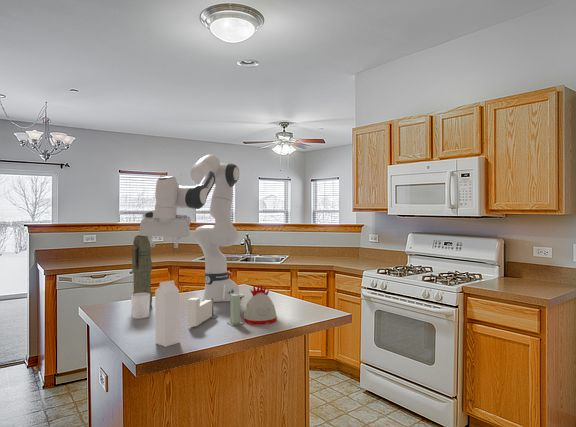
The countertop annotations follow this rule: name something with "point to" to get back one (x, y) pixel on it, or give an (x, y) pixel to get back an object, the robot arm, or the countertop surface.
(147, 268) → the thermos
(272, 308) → the kitchen timer
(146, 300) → the white cup
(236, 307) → the latch post
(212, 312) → the hinge post
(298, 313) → the countertop surface
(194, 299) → the cream l-shaped block
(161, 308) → the milk
